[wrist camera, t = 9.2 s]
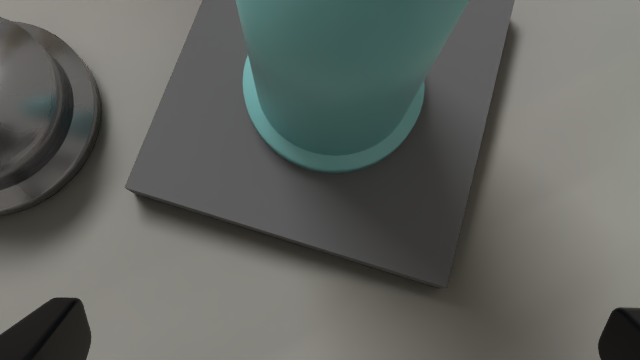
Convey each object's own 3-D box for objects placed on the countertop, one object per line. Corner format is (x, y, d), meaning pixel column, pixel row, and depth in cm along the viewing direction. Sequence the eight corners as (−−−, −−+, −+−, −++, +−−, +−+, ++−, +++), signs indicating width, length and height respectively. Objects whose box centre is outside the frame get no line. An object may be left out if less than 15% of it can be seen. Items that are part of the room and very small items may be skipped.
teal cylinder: (452, 72, 16) (667, -247, 7) (354, 209, 15) (444, 60, 5) (313, -20, 16) (327, -432, 7) (208, 105, 15) (62, -191, 6)
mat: (504, 13, 17) (514, 0, 17) (439, 288, 15) (447, 287, 14) (238, -63, 18) (235, -80, 17) (133, 193, 15) (124, 187, 15)
